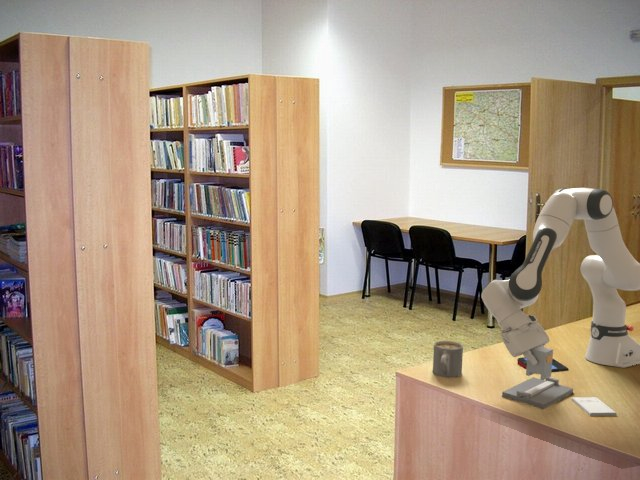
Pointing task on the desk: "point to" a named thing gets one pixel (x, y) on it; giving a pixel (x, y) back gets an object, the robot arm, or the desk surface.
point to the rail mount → (538, 392)
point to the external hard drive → (593, 406)
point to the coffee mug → (447, 358)
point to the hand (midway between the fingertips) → (541, 361)
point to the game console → (555, 365)
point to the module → (541, 362)
